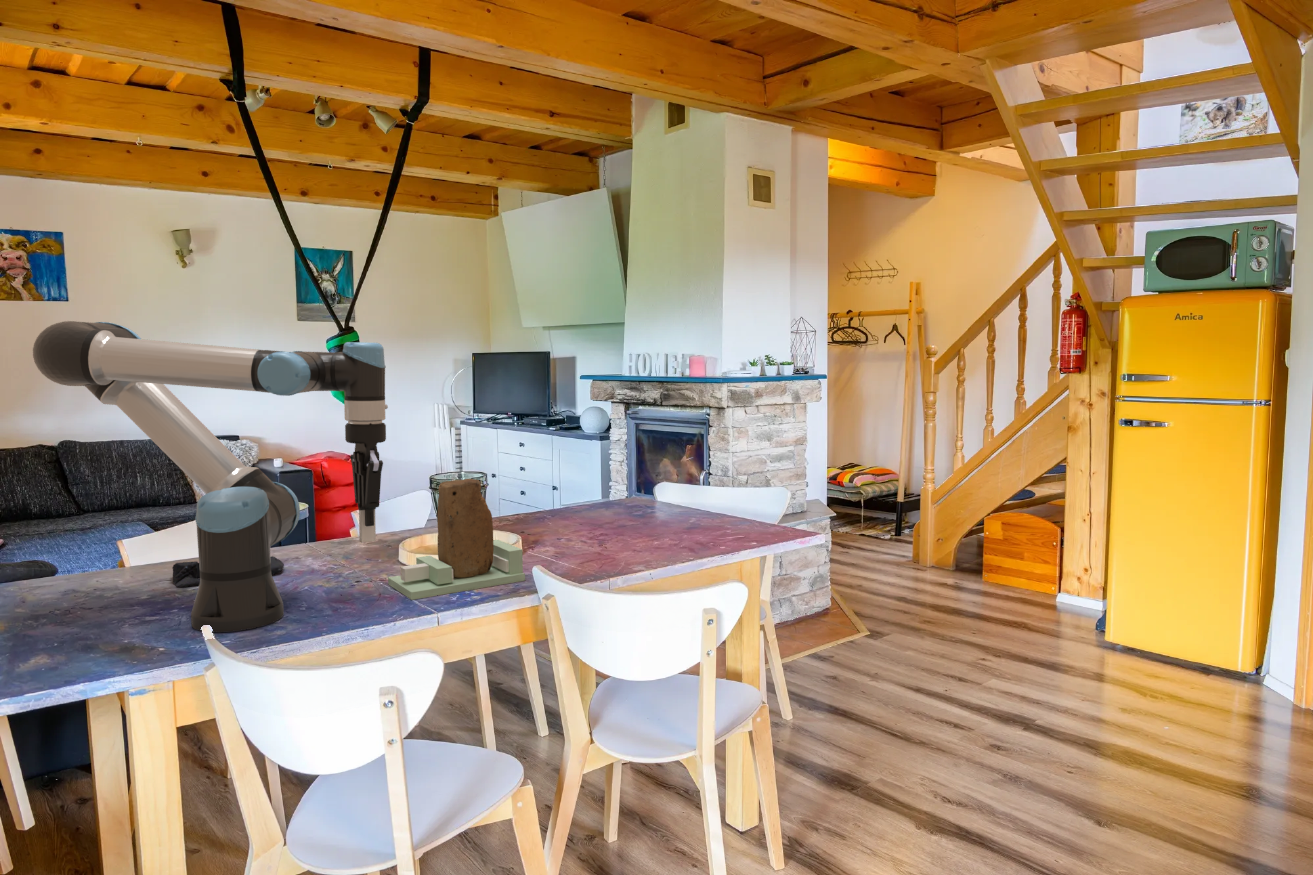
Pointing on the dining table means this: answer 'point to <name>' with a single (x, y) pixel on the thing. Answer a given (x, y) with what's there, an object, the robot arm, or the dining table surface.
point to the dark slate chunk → (190, 572)
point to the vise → (502, 572)
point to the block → (464, 528)
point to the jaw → (427, 571)
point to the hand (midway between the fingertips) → (367, 541)
